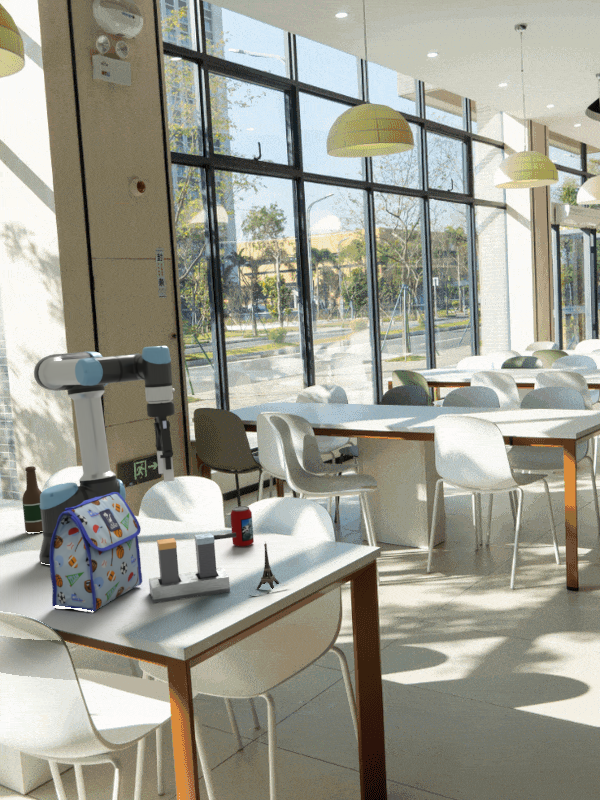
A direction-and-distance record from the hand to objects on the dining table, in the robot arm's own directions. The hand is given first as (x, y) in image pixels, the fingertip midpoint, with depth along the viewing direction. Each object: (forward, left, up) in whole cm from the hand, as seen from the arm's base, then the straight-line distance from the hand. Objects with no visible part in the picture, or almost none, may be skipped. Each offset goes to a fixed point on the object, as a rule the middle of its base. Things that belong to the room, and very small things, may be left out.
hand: (166, 477), depth 231 cm
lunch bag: (+10, -21, -29) cm, 37 cm away
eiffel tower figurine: (+22, +22, -29) cm, 43 cm away
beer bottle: (-81, -40, -29) cm, 95 cm away
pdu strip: (+16, +4, -29) cm, 33 cm away
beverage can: (-24, +25, -29) cm, 45 cm away
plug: (+16, -3, -28) cm, 32 cm away
